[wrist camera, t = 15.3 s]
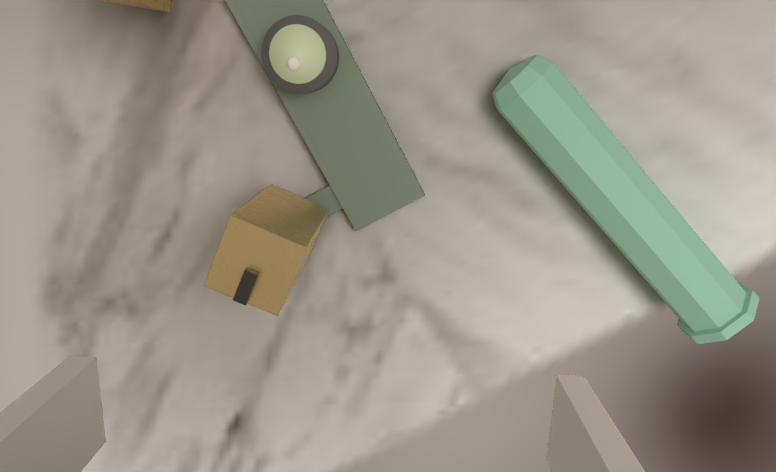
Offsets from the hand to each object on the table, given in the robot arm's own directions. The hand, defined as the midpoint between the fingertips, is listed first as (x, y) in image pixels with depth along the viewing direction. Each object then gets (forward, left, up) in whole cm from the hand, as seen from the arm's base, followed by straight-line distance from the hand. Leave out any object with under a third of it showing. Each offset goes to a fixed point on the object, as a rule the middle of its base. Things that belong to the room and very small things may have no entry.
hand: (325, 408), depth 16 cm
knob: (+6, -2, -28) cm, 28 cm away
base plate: (+2, -12, -29) cm, 31 cm away
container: (-17, +8, -29) cm, 34 cm away
